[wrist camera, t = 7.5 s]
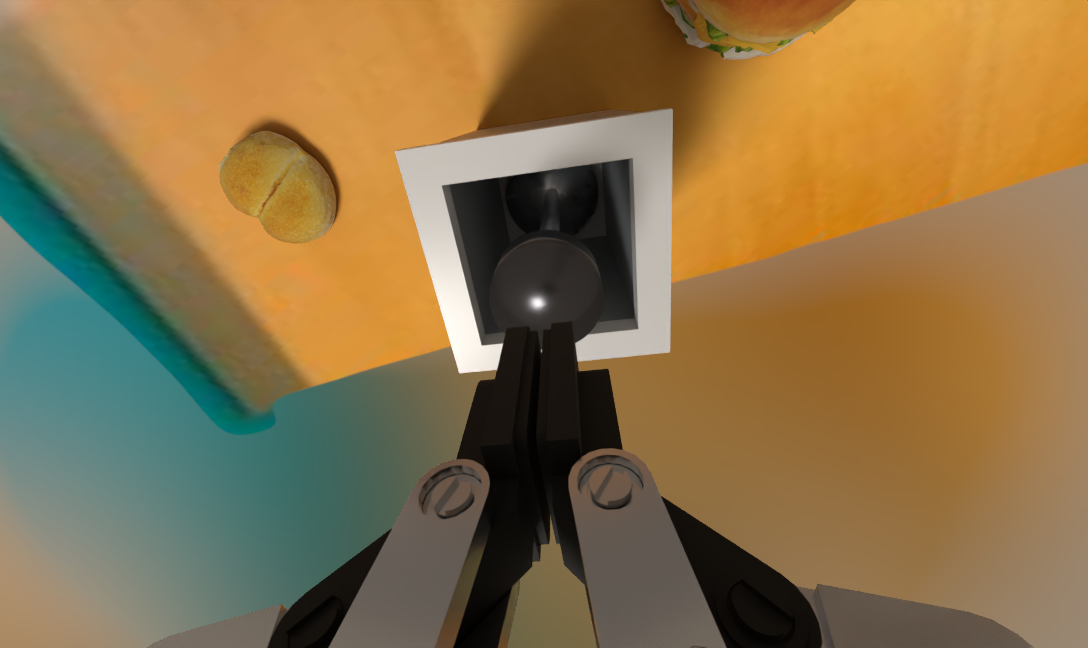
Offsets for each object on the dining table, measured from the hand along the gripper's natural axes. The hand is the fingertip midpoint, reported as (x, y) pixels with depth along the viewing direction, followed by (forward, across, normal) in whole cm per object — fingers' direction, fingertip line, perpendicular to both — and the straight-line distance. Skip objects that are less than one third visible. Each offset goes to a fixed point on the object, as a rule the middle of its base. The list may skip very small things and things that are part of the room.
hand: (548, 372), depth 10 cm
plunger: (+26, 0, +1) cm, 26 cm away
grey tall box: (+28, 0, +1) cm, 28 cm away
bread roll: (+28, +24, -2) cm, 37 cm away
